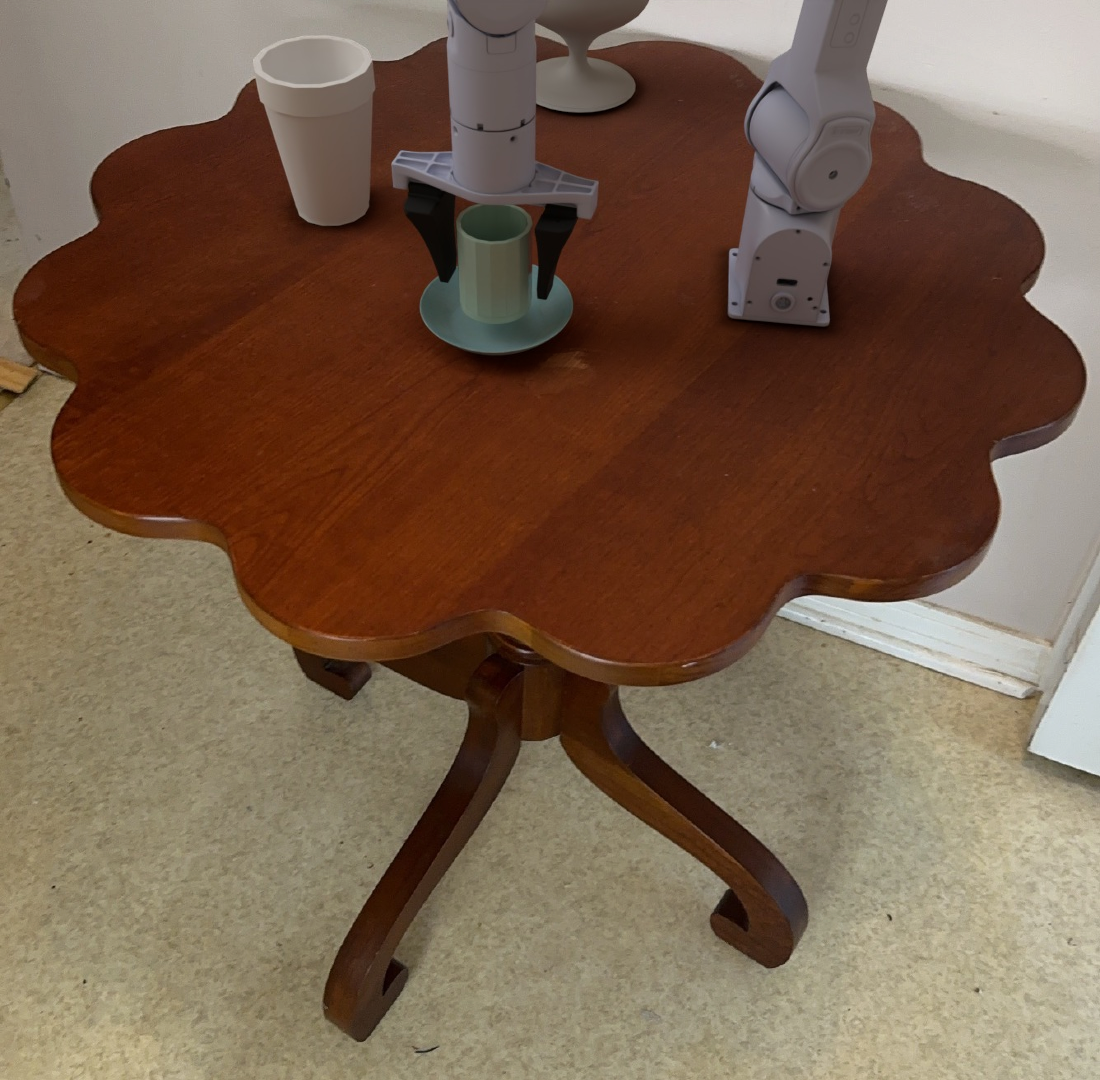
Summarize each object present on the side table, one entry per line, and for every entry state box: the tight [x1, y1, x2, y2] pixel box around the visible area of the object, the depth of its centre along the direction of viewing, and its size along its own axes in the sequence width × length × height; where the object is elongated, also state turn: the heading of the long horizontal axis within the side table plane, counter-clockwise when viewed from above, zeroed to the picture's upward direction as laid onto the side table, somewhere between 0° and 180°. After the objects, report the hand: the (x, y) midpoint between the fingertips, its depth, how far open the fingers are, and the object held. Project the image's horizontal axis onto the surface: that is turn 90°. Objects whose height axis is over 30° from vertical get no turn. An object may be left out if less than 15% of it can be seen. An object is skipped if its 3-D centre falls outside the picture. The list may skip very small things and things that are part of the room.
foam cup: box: [252, 34, 376, 227], centre depth 92 cm, size 10×9×13 cm
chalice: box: [535, 0, 650, 113], centre depth 107 cm, size 14×14×15 cm
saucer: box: [419, 263, 574, 356], centre depth 85 cm, size 12×12×2 cm
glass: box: [455, 203, 534, 324], centre depth 81 cm, size 6×6×7 cm
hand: (496, 283), depth 83 cm, fingers open, 7 cm apart
